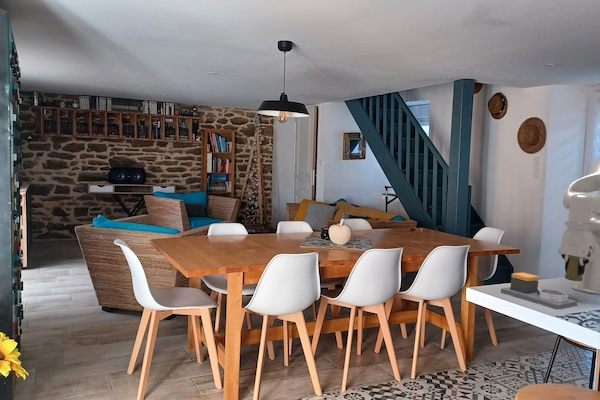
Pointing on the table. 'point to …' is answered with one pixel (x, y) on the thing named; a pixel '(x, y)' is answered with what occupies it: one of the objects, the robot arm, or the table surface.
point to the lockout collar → (552, 295)
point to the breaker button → (525, 276)
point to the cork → (573, 269)
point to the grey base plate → (532, 293)
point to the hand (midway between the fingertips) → (574, 273)
